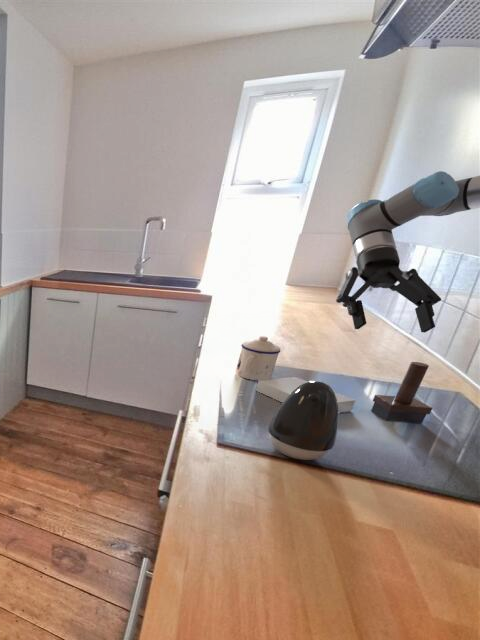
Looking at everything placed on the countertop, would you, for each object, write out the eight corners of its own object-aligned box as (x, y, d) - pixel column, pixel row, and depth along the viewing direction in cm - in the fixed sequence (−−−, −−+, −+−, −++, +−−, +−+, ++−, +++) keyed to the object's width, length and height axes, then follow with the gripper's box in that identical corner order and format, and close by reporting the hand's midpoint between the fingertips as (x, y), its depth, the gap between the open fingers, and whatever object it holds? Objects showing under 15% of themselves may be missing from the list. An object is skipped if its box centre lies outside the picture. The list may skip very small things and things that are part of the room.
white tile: (351, 411, 98) (355, 400, 96) (310, 416, 95) (314, 405, 94) (292, 387, 111) (295, 376, 110) (255, 391, 109) (258, 380, 107)
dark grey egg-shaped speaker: (257, 453, 81) (280, 382, 75) (269, 434, 88) (290, 367, 82) (322, 474, 74) (353, 399, 68) (330, 452, 81) (358, 381, 75)
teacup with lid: (241, 367, 124) (251, 330, 120) (276, 376, 118) (288, 337, 113) (224, 377, 117) (235, 338, 113) (261, 387, 111) (273, 346, 106)
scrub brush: (406, 413, 97) (430, 360, 92) (424, 424, 92) (451, 369, 87) (368, 410, 98) (390, 358, 93) (384, 421, 93) (408, 367, 88)
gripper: (421, 266, 106) (442, 338, 98) (311, 263, 111) (323, 332, 103) (448, 246, 99) (473, 322, 92) (329, 244, 104) (344, 316, 96)
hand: (394, 328), depth 97 cm, fingers open, 13 cm apart
